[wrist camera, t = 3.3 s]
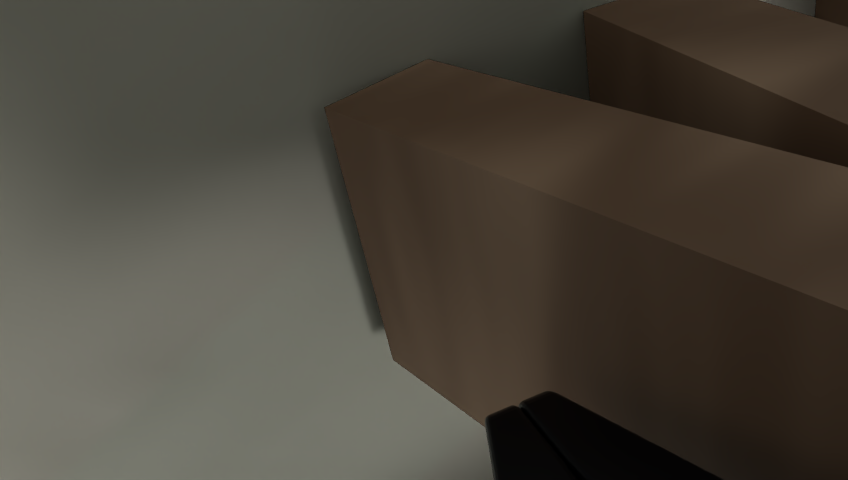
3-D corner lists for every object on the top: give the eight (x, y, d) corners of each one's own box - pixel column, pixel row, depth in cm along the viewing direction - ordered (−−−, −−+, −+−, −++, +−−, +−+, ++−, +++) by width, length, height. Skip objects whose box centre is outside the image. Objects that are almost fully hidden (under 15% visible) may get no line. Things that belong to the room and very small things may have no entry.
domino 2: (427, 58, 12) (1078, 226, 6) (473, 304, 15) (964, 587, 9) (324, 107, 12) (967, 355, 5) (393, 360, 14) (875, 714, 8)
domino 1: (686, -22, 13) (1322, 170, 6) (687, 223, 16) (1138, 547, 9) (582, 11, 13) (1141, 251, 6) (601, 255, 16) (1002, 619, 9)
